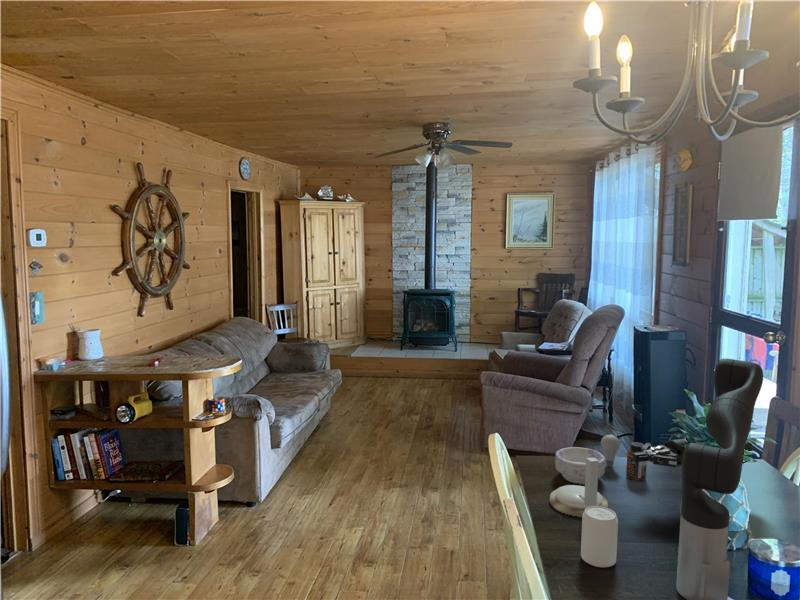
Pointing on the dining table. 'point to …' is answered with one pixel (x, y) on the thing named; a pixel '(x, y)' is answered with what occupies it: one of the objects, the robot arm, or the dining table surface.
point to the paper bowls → (577, 463)
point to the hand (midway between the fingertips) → (634, 457)
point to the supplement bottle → (635, 464)
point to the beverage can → (599, 536)
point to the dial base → (570, 510)
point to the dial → (582, 489)
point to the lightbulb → (610, 448)
